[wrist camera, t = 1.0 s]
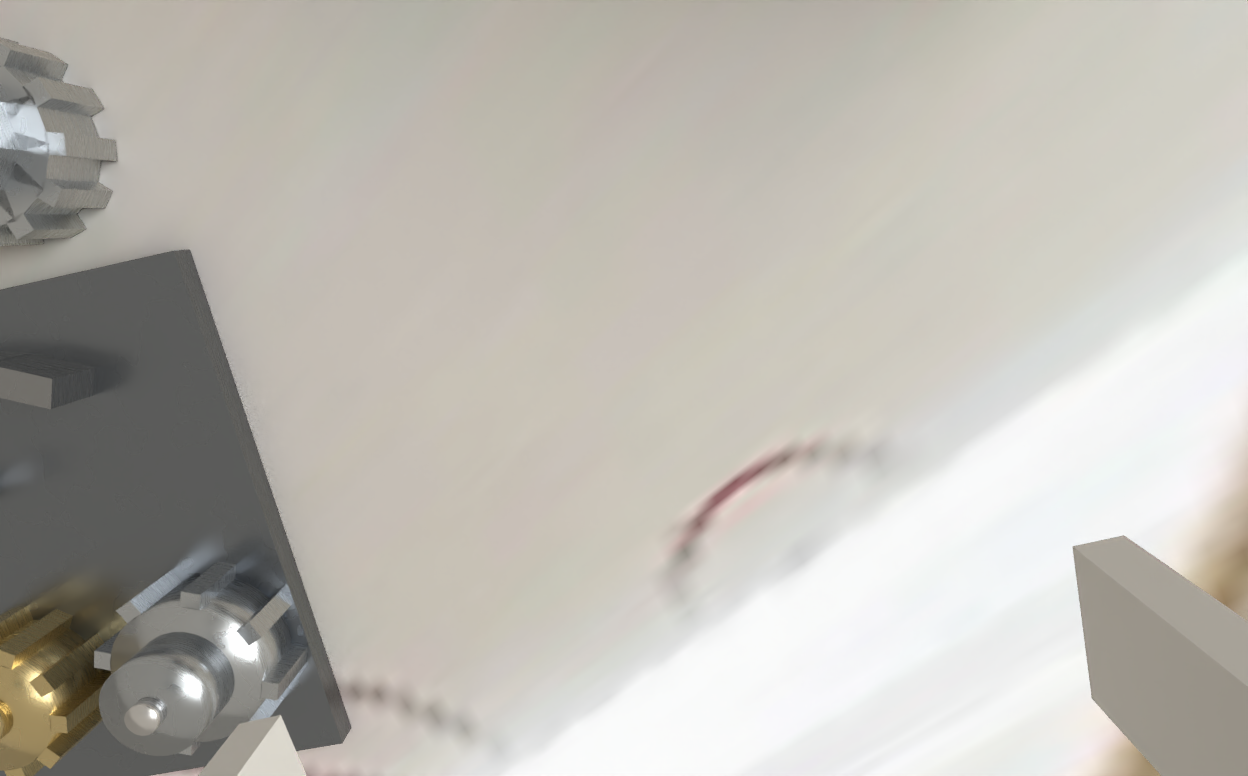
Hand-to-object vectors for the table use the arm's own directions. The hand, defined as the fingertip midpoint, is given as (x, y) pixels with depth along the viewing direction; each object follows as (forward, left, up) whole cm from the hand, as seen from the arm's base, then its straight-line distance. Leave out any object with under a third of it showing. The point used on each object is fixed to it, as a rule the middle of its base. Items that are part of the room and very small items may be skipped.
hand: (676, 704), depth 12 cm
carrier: (+2, -34, -24) cm, 41 cm away
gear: (-17, -26, -24) cm, 39 cm away
